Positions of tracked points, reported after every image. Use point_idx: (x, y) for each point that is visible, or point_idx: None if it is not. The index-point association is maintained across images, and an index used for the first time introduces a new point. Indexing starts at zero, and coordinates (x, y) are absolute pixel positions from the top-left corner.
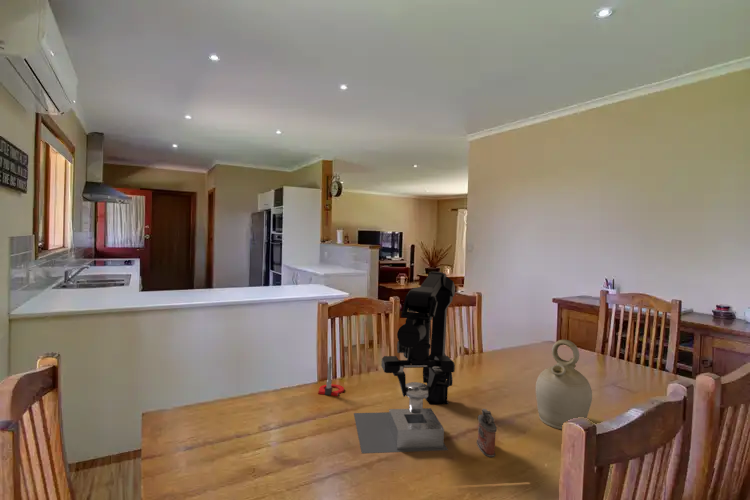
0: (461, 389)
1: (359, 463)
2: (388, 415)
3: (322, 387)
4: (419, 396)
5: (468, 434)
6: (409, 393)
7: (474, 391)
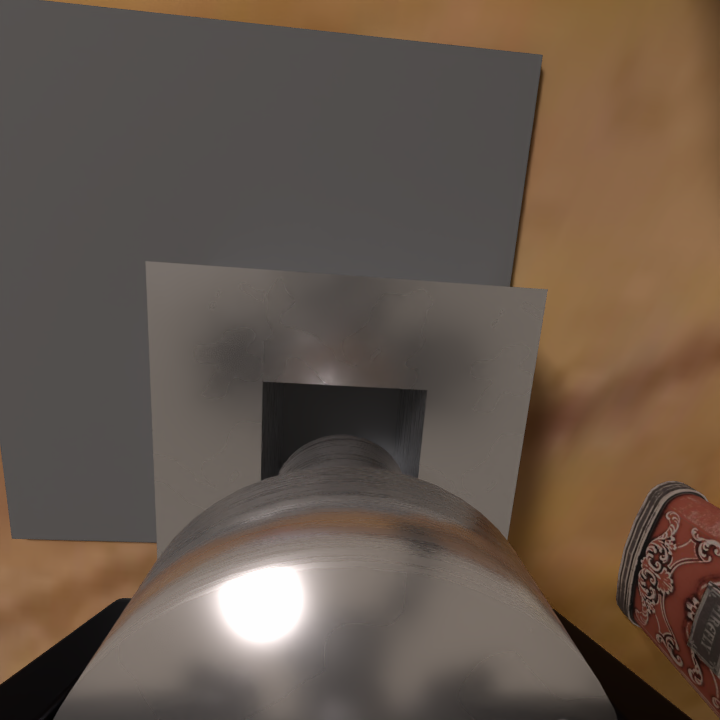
0: None
1: (8, 595)
2: (235, 83)
3: None
4: None
5: (662, 400)
6: None
7: None
